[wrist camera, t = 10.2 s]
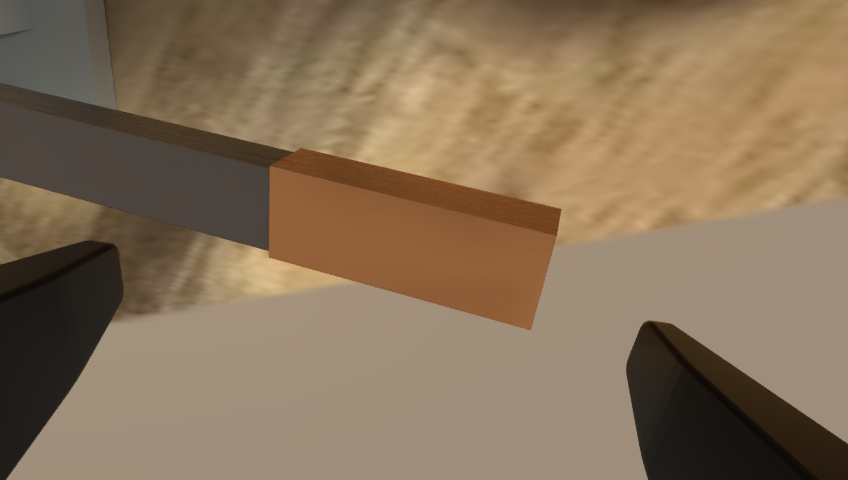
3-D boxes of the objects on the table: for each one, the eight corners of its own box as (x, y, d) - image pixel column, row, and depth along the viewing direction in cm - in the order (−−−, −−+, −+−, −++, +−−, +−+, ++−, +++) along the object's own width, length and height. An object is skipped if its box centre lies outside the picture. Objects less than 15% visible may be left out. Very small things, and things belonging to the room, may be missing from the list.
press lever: (575, 150, 13) (564, 220, 9) (534, 299, 14) (512, 406, 11) (-264, -29, 17) (-486, -30, 14) (-214, 99, 19) (-400, 127, 16)
